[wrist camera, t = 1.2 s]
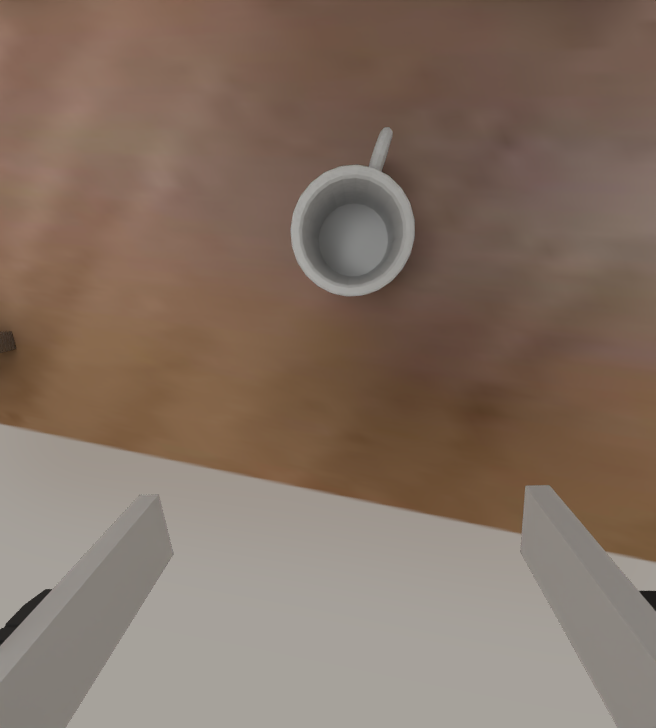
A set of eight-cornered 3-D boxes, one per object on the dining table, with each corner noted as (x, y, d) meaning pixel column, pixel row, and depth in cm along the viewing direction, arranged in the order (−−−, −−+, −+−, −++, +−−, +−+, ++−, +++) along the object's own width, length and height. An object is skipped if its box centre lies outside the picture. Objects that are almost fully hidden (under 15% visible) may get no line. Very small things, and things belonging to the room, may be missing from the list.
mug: (380, 301, 36) (388, 315, 27) (295, 271, 36) (273, 274, 27) (428, 172, 33) (458, 135, 23) (335, 139, 33) (326, 87, 23)
